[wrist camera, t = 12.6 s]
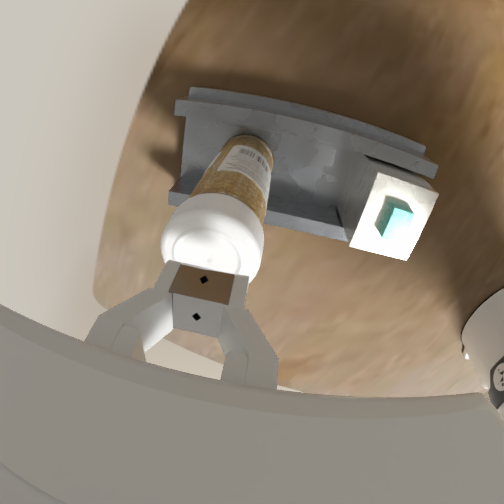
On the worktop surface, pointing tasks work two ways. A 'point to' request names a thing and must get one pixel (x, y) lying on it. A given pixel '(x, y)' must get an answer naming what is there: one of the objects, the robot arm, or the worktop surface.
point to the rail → (316, 168)
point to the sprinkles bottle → (224, 212)
